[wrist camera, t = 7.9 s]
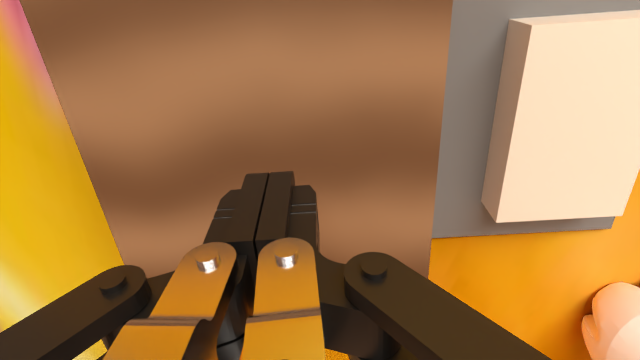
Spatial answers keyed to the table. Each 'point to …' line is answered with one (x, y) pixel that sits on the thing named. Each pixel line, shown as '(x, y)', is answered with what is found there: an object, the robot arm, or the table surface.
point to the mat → (488, 113)
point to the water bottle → (614, 323)
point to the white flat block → (566, 118)
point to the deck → (253, 113)
